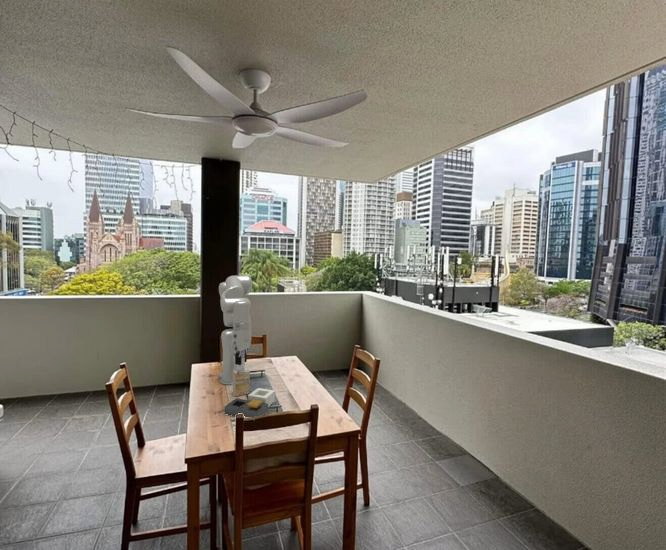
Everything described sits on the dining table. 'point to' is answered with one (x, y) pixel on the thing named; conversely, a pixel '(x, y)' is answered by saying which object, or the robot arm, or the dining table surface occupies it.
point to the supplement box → (241, 383)
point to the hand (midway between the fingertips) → (240, 362)
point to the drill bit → (241, 367)
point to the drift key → (254, 403)
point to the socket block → (244, 408)
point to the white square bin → (263, 396)
